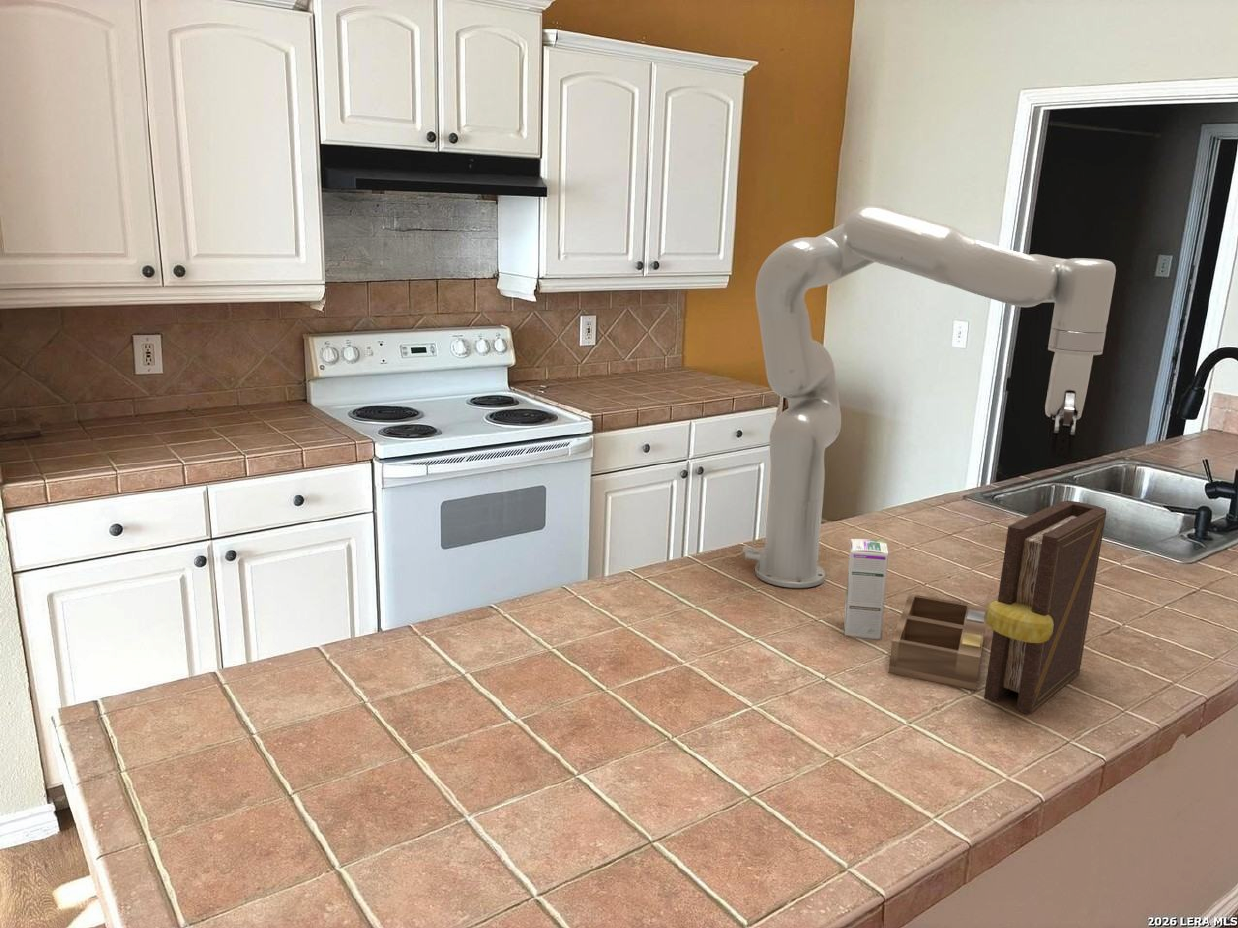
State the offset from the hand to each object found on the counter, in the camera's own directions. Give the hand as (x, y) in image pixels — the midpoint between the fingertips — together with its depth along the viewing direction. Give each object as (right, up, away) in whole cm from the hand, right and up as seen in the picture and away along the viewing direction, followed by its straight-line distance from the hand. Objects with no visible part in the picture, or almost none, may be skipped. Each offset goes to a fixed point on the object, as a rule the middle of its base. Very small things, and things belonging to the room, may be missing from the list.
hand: (1058, 451), depth 148 cm
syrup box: (-30, -29, +3) cm, 42 cm away
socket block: (-20, -31, -4) cm, 37 cm away
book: (-10, -34, -13) cm, 38 cm away
